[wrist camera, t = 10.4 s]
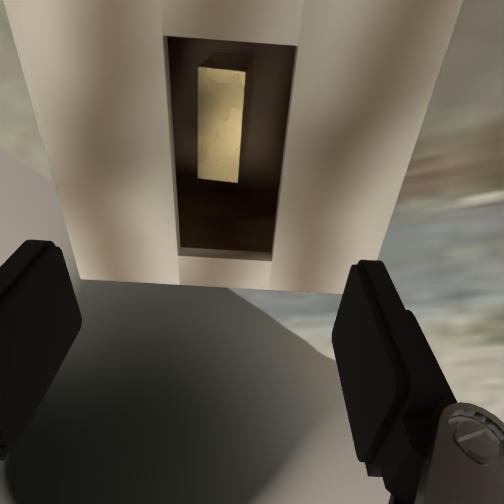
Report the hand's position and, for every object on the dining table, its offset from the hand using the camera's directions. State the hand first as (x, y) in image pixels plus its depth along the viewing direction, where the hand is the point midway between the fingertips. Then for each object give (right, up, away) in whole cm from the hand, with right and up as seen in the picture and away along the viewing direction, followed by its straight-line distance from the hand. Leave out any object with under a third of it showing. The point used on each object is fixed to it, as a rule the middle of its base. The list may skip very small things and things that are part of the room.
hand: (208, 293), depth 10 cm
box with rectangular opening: (0, +12, +16) cm, 20 cm away
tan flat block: (-1, +8, +10) cm, 12 cm away
